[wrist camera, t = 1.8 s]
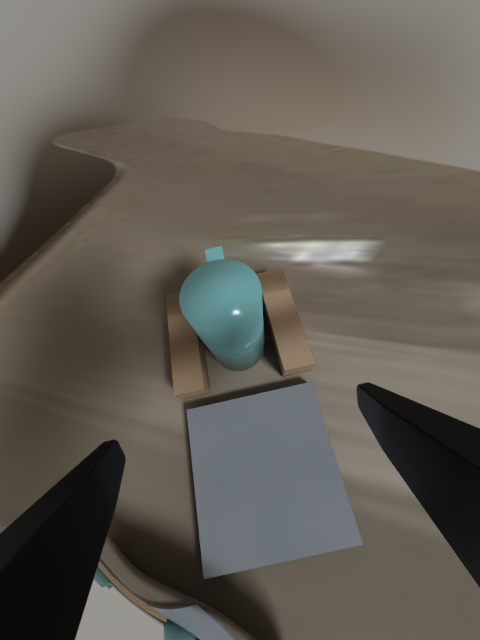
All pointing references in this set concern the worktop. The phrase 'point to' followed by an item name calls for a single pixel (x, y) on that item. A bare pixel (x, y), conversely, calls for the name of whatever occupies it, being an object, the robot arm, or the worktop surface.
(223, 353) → the teal gourd with tab
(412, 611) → the worktop surface
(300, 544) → the coaster
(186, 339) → the bracket
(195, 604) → the beer glass
